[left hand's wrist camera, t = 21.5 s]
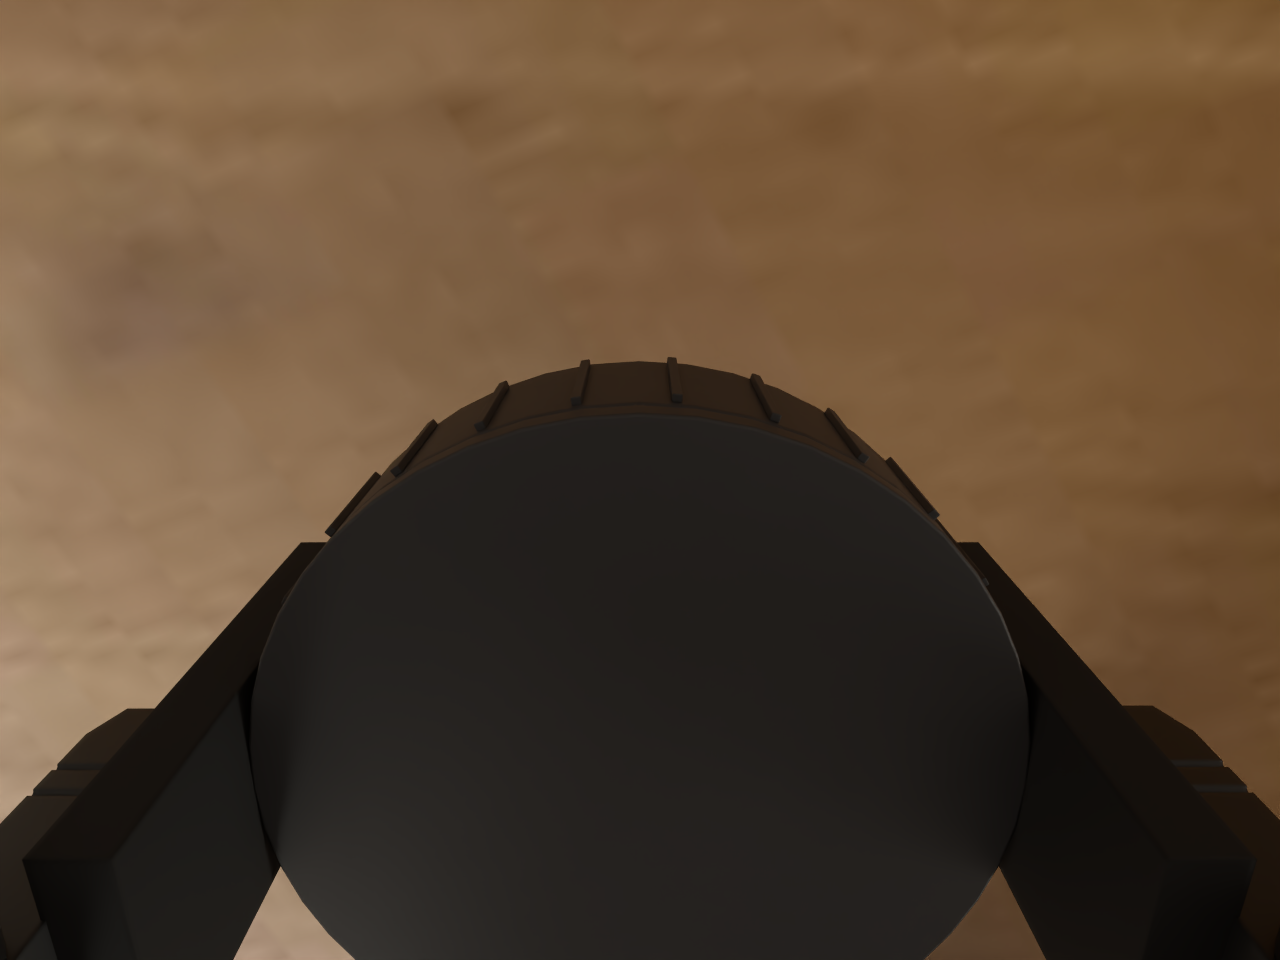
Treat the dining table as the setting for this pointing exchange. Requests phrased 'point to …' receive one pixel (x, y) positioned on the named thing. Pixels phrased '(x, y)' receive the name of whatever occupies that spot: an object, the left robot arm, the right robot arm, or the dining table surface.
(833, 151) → the dining table surface
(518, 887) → the lid
